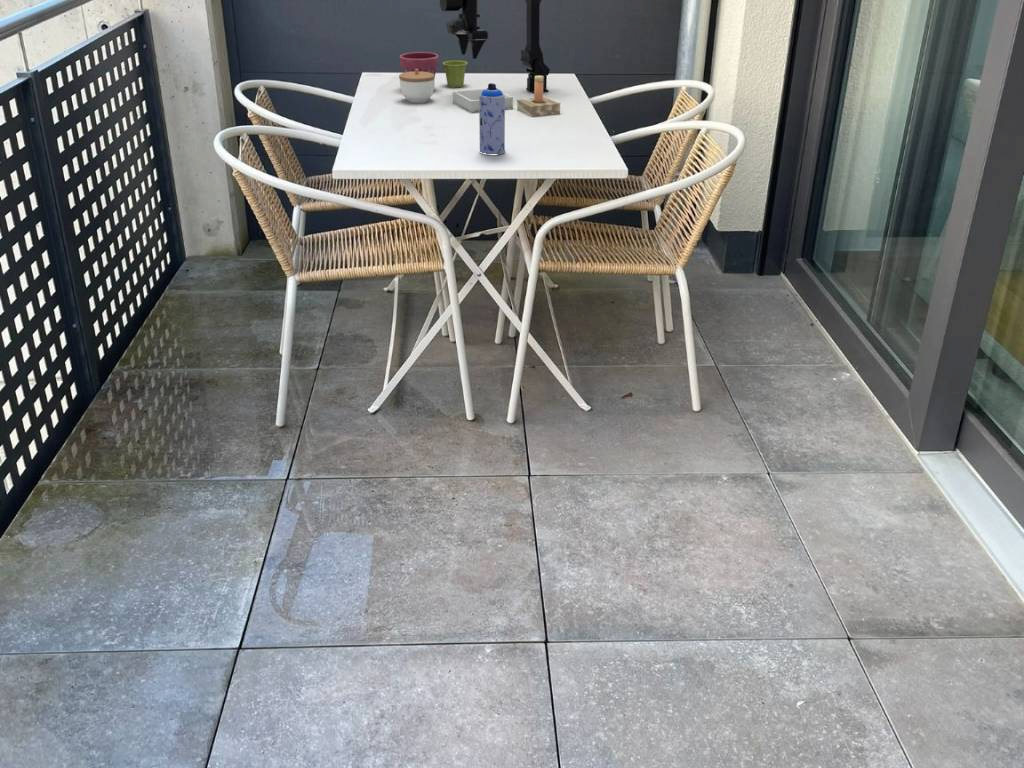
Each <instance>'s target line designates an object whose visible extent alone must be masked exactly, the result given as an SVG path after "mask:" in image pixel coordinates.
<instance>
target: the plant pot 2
mask: <svg viewBox="0 0 1024 768" xmlns="http://www.w3.org/2000/svg"><path fill="white" fill-rule="evenodd" d="M442 65H443V68H444V72H445V79H446V84H447V86H448V87H449V88H462V87H464V84H465V74H466V68H467V65H468V61H464V60H448V61H443V62H442Z"/></svg>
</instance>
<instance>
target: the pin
mask: <svg viewBox="0 0 1024 768" xmlns="http://www.w3.org/2000/svg"><path fill="white" fill-rule="evenodd" d="M543 77H544V76H535V88H534V92H533V93H534V95H533V98H534V103H543V97H544V92H543Z"/></svg>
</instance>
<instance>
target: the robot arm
mask: <svg viewBox="0 0 1024 768" xmlns="http://www.w3.org/2000/svg"><path fill="white" fill-rule="evenodd" d="M524 2H525V3H526V45H525V48H524V49H521V50H520V54H521V55H520V56H521V57H520V61H521V63H522V66H523V67H524V68H525V70H526V71H525V72H526V73H527V75H528V77H527V78H526V89H525V90H526V91H529V92H531V93H534V88H535V76H544V77H543V93H544V92H545V93H546V92H549V89H547V86H548V85H547V83H548V79H547V76H549V74H550V71H551V69H550V68H549V66H547V64H546V63H545V61H544V60H545V59H544V54H543V51H542V48H541V45H540V43H541V41H540V33H541V32H540V31H541V30H540V28H541V27H540V24H541V22H540V21H541V20H540V18H541V17H540V15H541V13H540V12H541V11H540V9H541V7H540V6H541V2H542V0H524ZM439 7H440V10H441V11H442V12H459V11H460V10H461V11H460V12H459V13H458V16H457V17H458V18H455V19H452V20H450V21H448V22H445V28H446V31H447V33H448V34H451V35H453V36H454V37H455V38H456V39H457V42H458V45H459V49H460V53H461V55H462V56H465V55H466V53H467V49H468V45H469V43H470V44H471V51H472V52H471V53H472V59H474V60H476V59H477V58H478V55H479V53H480V51H481V49H482V48H483V45H484V44H485V42H486V41H487V40H488V39H489V33H488V31H487V30H485V29H483V28H481V27H480V26H479V25H478V18H480V17H481V16H480V15H481V14H480V13H478V10H479V8H478V7H479V0H439ZM480 28H481V29H480Z"/></svg>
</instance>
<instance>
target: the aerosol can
mask: <svg viewBox="0 0 1024 768" xmlns="http://www.w3.org/2000/svg"><path fill="white" fill-rule="evenodd" d="M484 89H485V90H483V92H482V93H481V94H480V97H479V112H478V114H479V118H478V119H479V121H478V122H479V150H480V152H482V153H486V154H502V153H504V154H505V153H506V149H505V147H506V146H505V145H506V144H505V143H506V142H505V140H506V137H505V136H506V133H505V128H506V127H505V126H506V117H505V115H506V114H505V113H506V109H505V97H504V94H503V93H504V92H503V91H502V90H500V89H499V88H497V85H496V84H495V83H488V85H487V87H486V88H484ZM502 92H503V93H502ZM502 155H503V154H502Z"/></svg>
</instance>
